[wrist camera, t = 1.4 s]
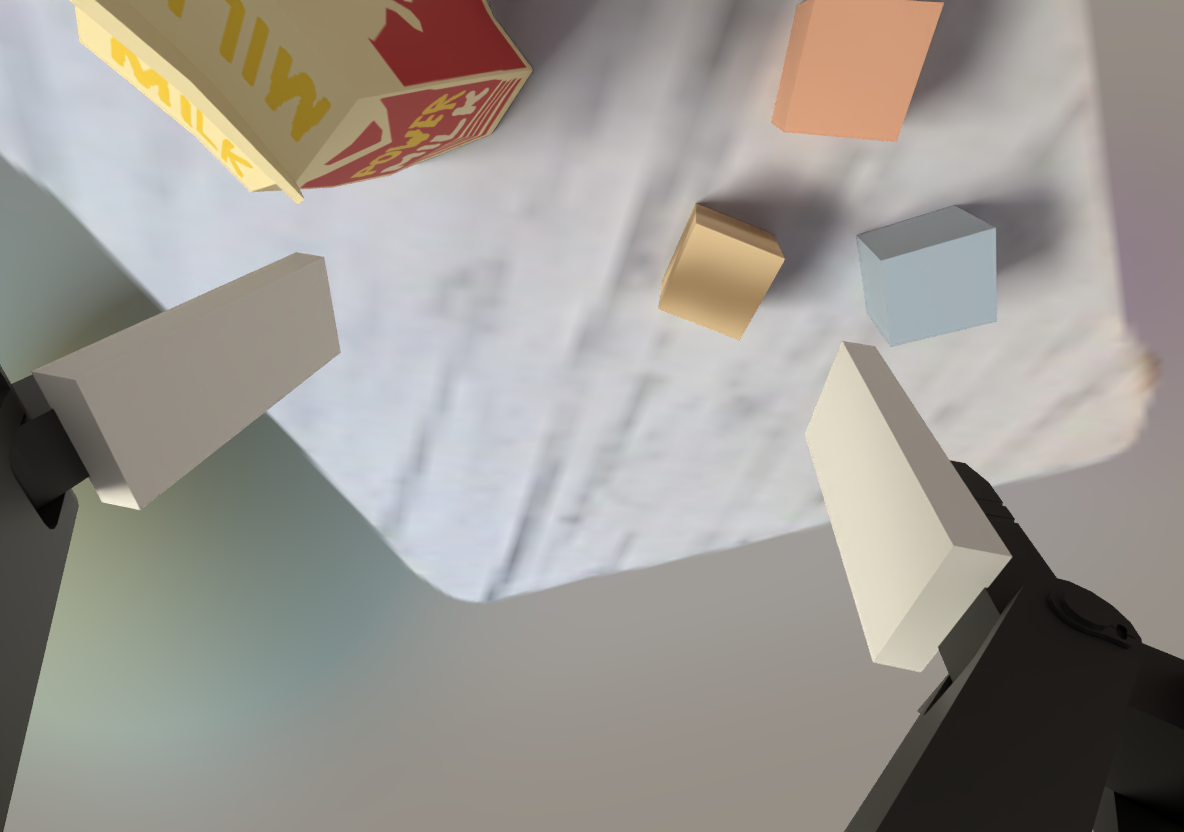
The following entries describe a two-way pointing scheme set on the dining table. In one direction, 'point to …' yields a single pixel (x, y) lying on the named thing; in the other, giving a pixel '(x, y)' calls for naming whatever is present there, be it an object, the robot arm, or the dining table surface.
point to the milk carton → (314, 80)
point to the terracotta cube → (853, 66)
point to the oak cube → (720, 272)
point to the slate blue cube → (929, 275)
